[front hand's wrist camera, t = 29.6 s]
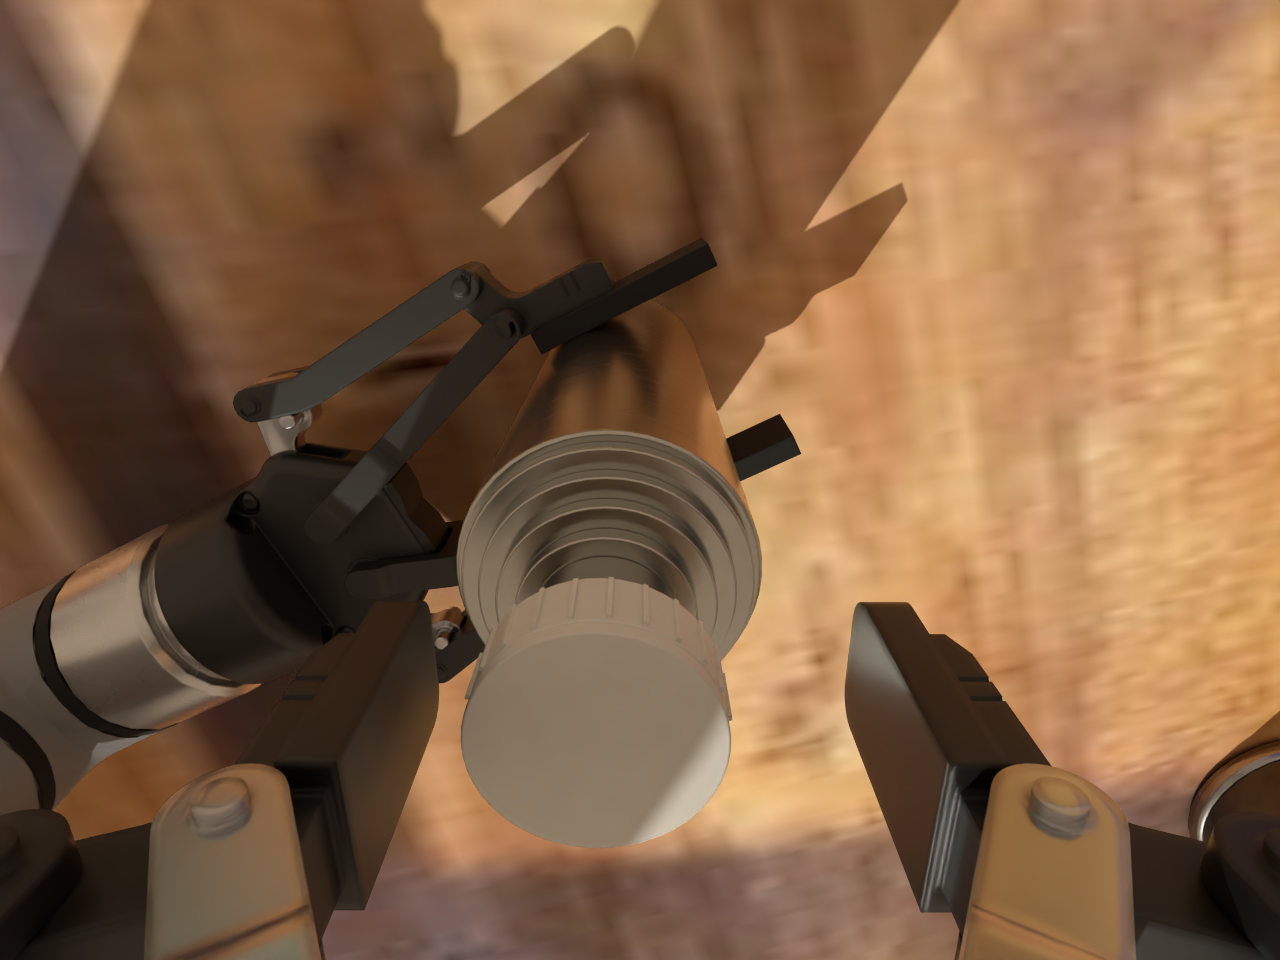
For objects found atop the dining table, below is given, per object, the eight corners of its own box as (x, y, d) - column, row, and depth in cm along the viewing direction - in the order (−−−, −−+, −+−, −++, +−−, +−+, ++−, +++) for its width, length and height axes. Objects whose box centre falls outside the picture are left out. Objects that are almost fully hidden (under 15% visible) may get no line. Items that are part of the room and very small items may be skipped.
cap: (454, 746, 13) (430, 817, 12) (511, 543, 12) (492, 596, 10) (677, 800, 13) (682, 875, 12) (759, 612, 12) (775, 672, 11)
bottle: (539, 305, 32) (344, 550, 11) (690, 285, 32) (792, 497, 11) (564, 447, 34) (444, 876, 13) (705, 429, 34) (812, 840, 13)
